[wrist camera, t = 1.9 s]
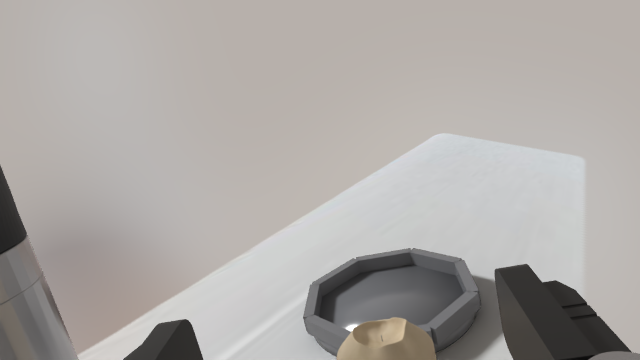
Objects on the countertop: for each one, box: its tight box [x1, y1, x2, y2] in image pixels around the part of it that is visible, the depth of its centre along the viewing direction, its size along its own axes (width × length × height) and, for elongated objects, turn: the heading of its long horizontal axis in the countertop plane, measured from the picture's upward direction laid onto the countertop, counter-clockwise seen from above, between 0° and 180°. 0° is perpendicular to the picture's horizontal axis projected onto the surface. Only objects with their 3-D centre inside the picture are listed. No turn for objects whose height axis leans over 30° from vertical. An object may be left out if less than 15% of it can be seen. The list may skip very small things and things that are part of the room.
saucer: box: [303, 248, 481, 356], centre depth 45 cm, size 16×16×2 cm
